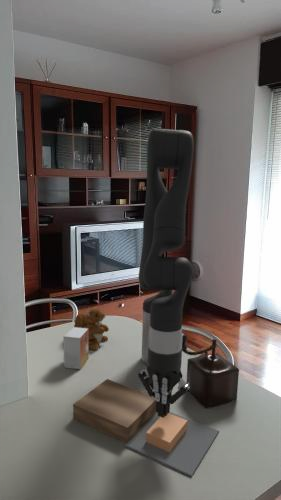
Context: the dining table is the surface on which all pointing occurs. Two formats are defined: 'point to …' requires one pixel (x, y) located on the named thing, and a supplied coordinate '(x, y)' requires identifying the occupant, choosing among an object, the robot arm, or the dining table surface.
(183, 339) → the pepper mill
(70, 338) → the small box
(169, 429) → the orange tan block
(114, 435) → the brown box
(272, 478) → the dining table surface
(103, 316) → the brown teddy bear
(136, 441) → the mat
